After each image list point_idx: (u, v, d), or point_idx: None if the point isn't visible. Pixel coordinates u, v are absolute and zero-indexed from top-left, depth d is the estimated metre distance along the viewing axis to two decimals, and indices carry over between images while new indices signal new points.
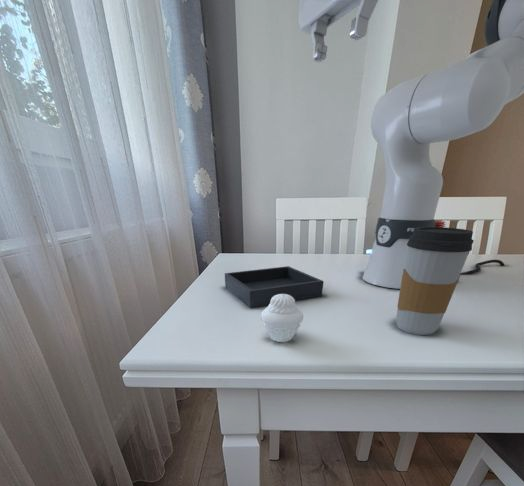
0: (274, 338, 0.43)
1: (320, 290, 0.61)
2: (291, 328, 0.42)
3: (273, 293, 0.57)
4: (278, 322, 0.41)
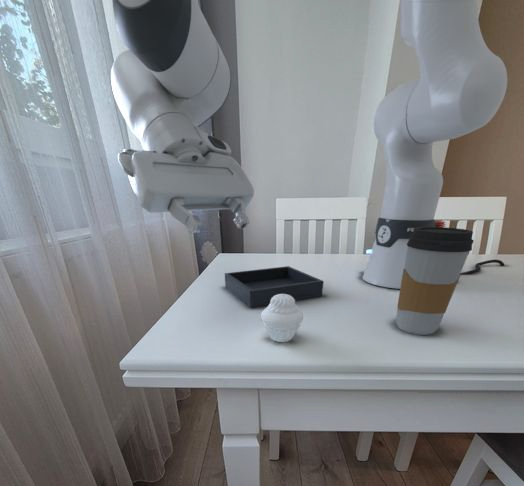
0: (274, 338, 0.43)
1: (320, 290, 0.61)
2: (291, 328, 0.42)
3: (273, 293, 0.57)
4: (278, 322, 0.41)
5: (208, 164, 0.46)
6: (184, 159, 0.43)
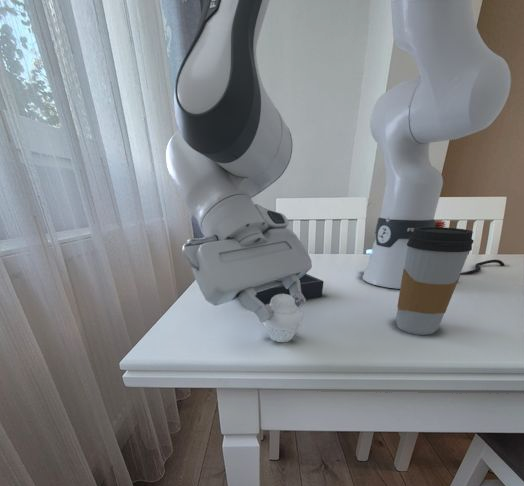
0: (274, 338, 0.43)
1: (320, 290, 0.61)
2: (291, 328, 0.41)
3: (273, 293, 0.57)
4: (278, 322, 0.41)
5: (268, 242, 0.44)
6: (248, 243, 0.41)
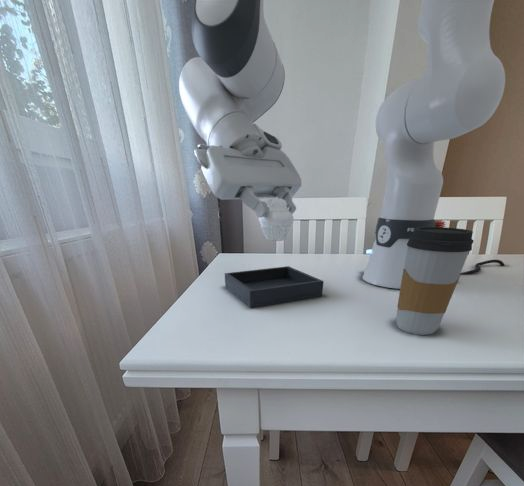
0: (269, 237, 0.52)
1: (320, 290, 0.61)
2: (283, 225, 0.50)
3: (273, 293, 0.57)
4: (272, 218, 0.49)
5: (264, 157, 0.52)
6: (247, 153, 0.49)
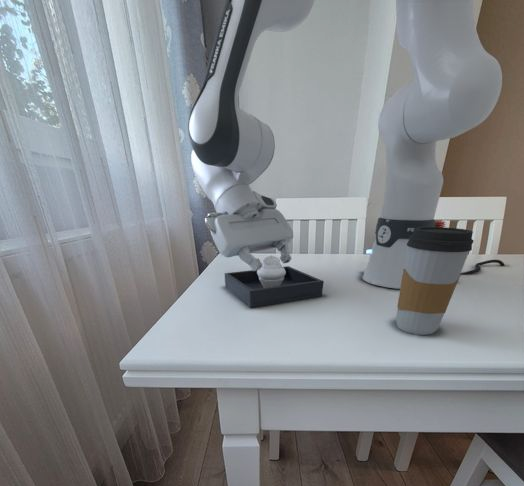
0: (266, 287, 0.63)
1: (320, 290, 0.61)
2: (277, 279, 0.61)
3: (273, 293, 0.57)
4: (268, 274, 0.60)
5: (262, 217, 0.63)
6: (248, 217, 0.60)
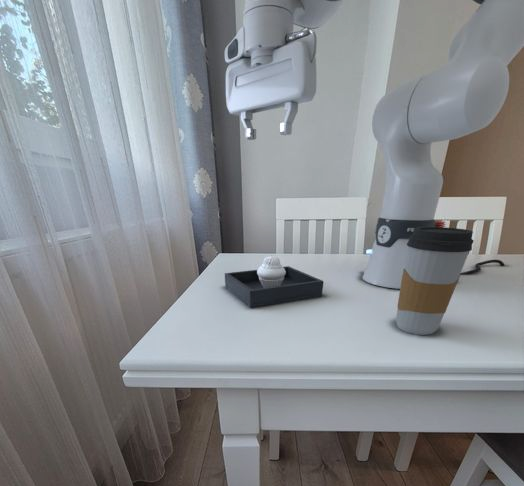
0: (266, 287, 0.63)
1: (320, 290, 0.61)
2: (277, 279, 0.61)
3: (273, 293, 0.57)
4: (268, 274, 0.60)
5: None
6: None
